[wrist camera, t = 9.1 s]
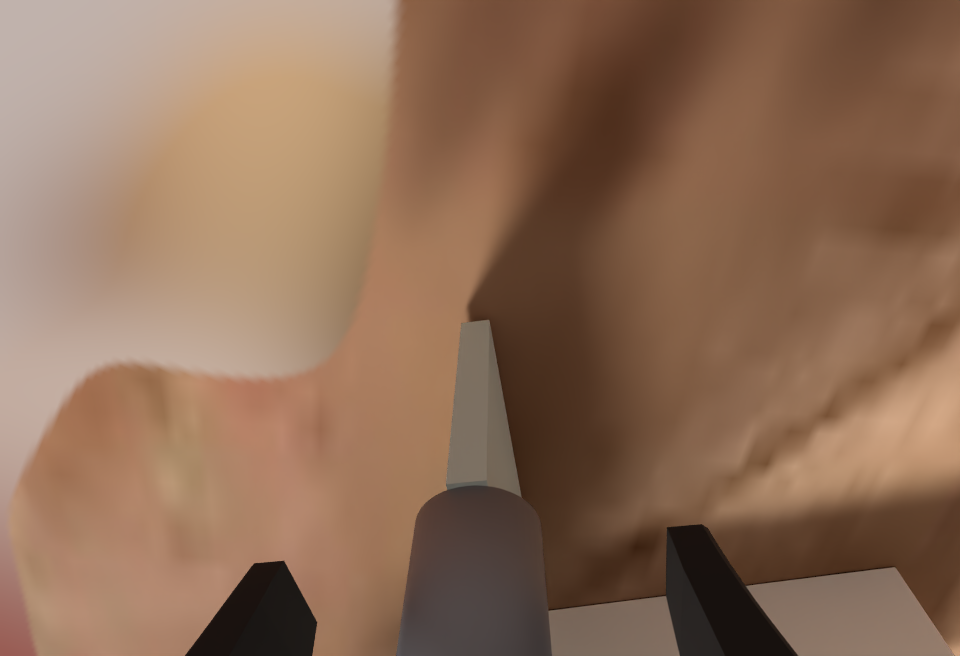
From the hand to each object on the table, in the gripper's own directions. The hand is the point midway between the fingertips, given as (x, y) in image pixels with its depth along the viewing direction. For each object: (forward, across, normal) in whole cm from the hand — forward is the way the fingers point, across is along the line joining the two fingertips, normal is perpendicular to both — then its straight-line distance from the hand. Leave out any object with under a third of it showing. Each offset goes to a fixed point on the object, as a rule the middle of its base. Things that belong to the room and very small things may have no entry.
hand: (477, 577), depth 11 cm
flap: (+7, 0, +5) cm, 9 cm away
